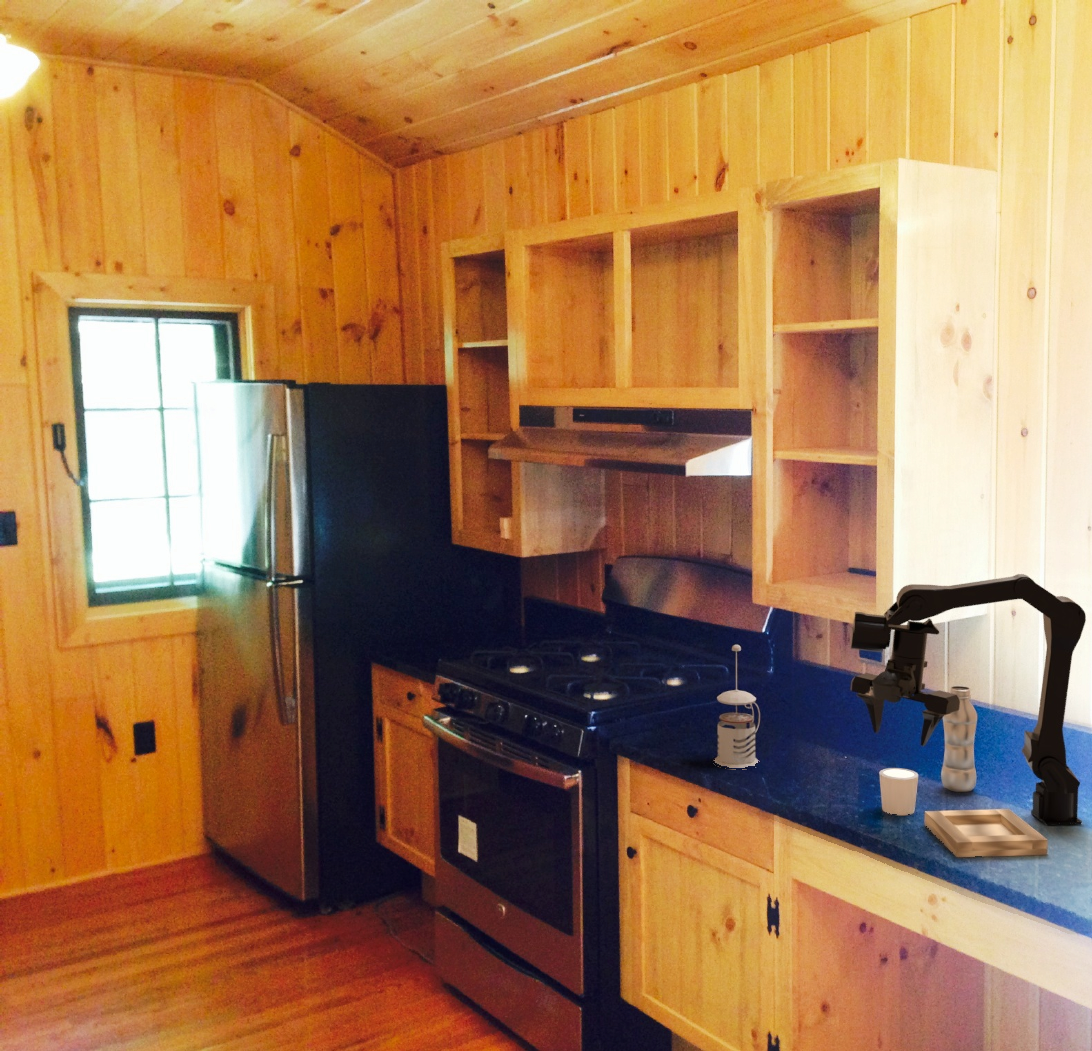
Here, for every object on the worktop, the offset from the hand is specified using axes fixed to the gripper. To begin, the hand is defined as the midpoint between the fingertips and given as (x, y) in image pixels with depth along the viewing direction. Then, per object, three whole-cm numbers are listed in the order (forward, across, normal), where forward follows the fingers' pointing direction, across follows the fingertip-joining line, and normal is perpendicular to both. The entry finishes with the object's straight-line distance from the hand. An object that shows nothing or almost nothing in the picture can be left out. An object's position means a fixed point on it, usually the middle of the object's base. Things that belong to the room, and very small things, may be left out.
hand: (899, 739), depth 214 cm
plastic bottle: (+12, +4, +19) cm, 23 cm away
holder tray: (+12, +18, -3) cm, 22 cm away
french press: (+16, -38, +7) cm, 42 cm away
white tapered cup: (+14, +1, +1) cm, 14 cm away
